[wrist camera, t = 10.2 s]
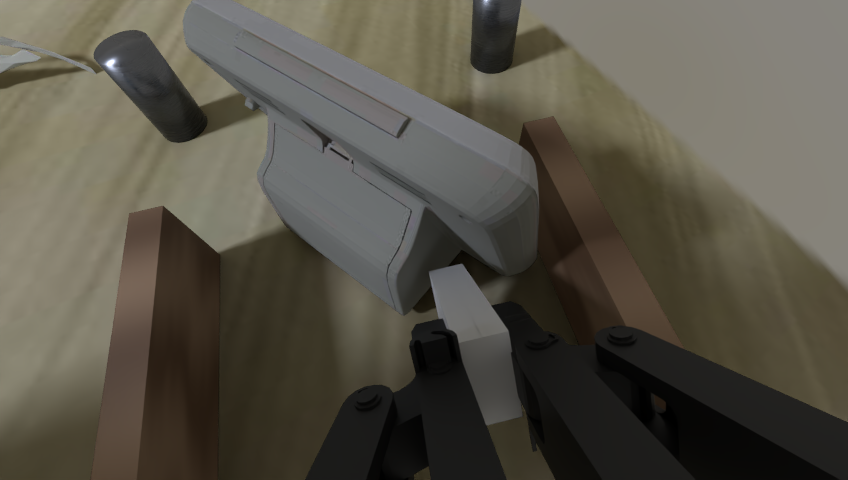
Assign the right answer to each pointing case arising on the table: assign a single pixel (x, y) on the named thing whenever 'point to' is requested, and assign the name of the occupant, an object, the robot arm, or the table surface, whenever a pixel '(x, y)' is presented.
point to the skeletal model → (28, 56)
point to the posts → (184, 120)
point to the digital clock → (371, 159)
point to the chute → (200, 304)
